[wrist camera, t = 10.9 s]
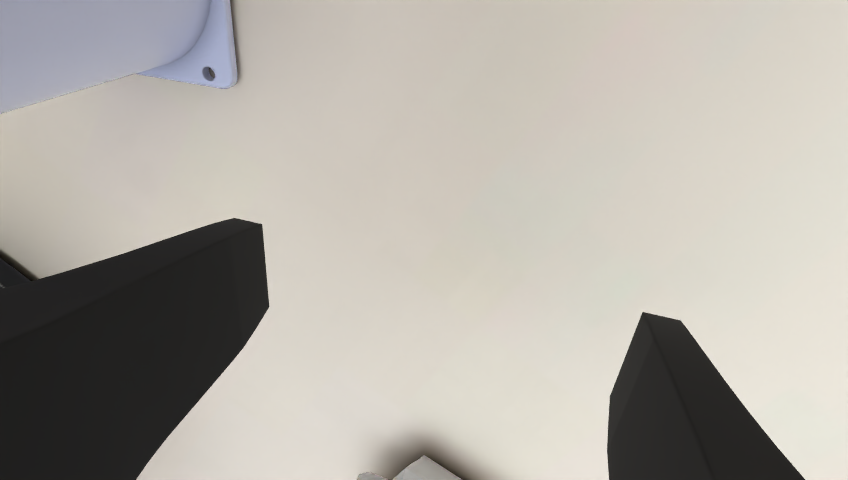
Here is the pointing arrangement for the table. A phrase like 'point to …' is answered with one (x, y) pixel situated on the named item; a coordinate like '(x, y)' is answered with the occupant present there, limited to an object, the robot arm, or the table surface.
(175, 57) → the robot arm
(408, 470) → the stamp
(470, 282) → the table surface
